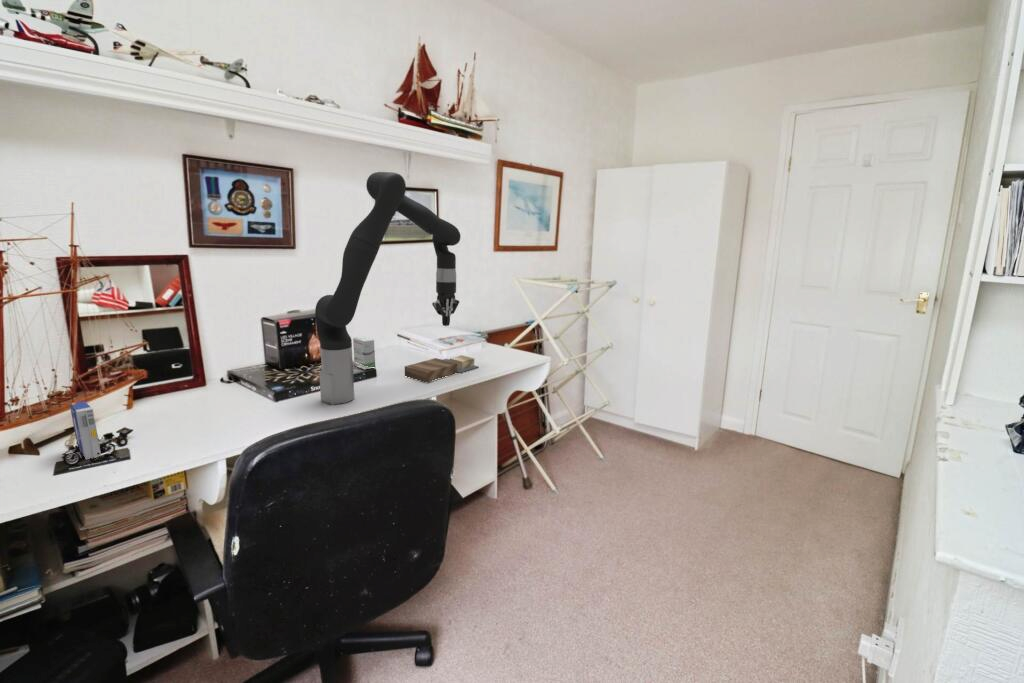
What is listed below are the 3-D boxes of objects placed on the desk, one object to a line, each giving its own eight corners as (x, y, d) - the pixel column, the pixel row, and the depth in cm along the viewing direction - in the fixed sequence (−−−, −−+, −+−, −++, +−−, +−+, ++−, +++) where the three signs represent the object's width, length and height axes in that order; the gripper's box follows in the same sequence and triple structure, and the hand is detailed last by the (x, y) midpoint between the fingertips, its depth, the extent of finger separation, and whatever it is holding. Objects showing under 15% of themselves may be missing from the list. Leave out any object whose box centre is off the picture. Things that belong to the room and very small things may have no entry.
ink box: (376, 368, 187) (375, 339, 184) (364, 371, 183) (363, 341, 181) (365, 364, 192) (363, 335, 190) (353, 366, 189) (352, 337, 186)
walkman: (77, 450, 113) (69, 402, 111) (93, 446, 115) (84, 399, 113) (85, 460, 109) (76, 410, 106) (101, 456, 111) (92, 407, 108)
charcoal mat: (460, 373, 183) (460, 372, 183) (427, 365, 193) (427, 363, 193) (478, 367, 192) (478, 366, 192) (446, 360, 202) (446, 358, 202)
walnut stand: (427, 383, 171) (427, 372, 170) (404, 376, 177) (404, 366, 177) (457, 373, 183) (457, 363, 182) (435, 367, 190) (435, 358, 189)
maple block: (474, 358, 192) (474, 365, 193) (461, 355, 196) (461, 362, 197) (462, 361, 187) (462, 368, 188) (449, 358, 191) (449, 365, 192)
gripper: (441, 282, 172) (441, 329, 175) (465, 280, 182) (464, 324, 186) (426, 280, 176) (426, 326, 180) (450, 278, 186) (450, 322, 190)
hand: (446, 325), depth 183 cm, fingers closed
